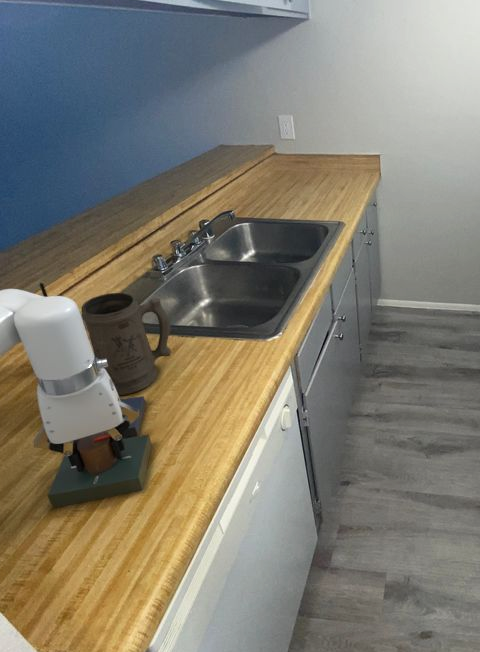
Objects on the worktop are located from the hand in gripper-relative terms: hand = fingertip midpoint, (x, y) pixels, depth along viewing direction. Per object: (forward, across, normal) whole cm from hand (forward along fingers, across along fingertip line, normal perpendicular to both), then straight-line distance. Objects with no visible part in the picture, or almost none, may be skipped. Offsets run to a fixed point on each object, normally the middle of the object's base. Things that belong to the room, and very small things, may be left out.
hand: (100, 458), depth 80 cm
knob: (+1, 0, 0) cm, 1 cm away
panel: (+4, 0, 0) cm, 4 cm away
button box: (+4, -1, -13) cm, 14 cm away
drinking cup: (+4, +6, -41) cm, 41 cm away
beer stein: (+4, -8, -27) cm, 28 cm away
